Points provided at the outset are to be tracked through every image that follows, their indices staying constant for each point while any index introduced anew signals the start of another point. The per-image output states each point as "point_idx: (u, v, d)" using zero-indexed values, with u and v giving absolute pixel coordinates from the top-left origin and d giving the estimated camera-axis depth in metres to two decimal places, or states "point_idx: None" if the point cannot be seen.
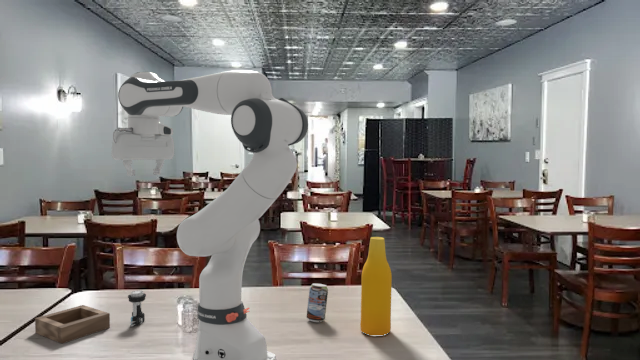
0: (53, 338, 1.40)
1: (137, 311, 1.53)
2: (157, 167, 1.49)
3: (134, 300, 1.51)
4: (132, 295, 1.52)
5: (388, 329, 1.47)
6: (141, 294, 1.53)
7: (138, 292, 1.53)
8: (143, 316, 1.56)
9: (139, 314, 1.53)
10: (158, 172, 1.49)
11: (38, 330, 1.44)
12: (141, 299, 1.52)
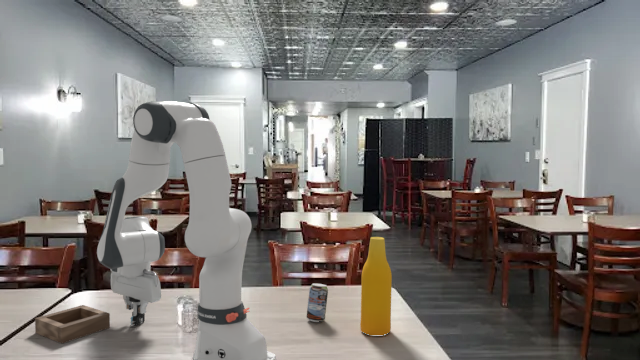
0: (53, 338, 1.40)
1: (137, 311, 1.53)
2: (128, 302, 1.55)
3: (135, 300, 1.51)
4: None
5: (388, 329, 1.47)
6: None
7: None
8: (143, 316, 1.56)
9: (139, 314, 1.53)
10: None
11: (38, 330, 1.44)
12: None
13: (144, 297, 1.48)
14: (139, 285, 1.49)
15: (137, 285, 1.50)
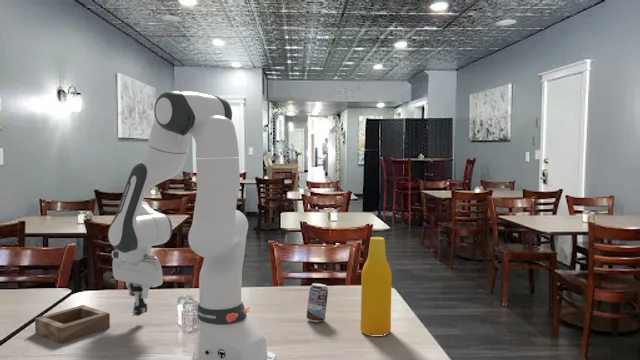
0: (53, 338, 1.40)
1: (139, 301, 1.52)
2: None
3: (136, 289, 1.51)
4: (134, 285, 1.52)
5: (388, 329, 1.47)
6: None
7: None
8: (145, 306, 1.55)
9: (141, 304, 1.52)
10: None
11: (38, 330, 1.44)
12: None
13: (145, 281, 1.48)
14: (141, 270, 1.49)
15: (139, 270, 1.50)
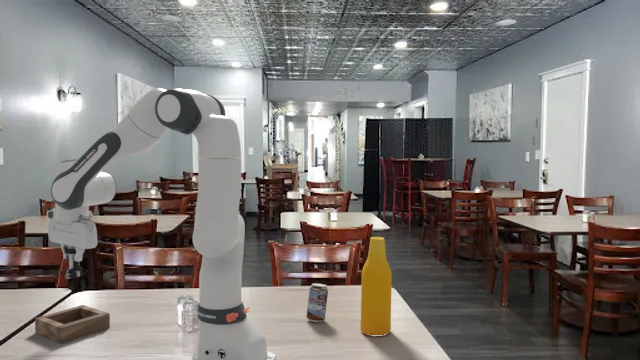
0: (53, 338, 1.40)
1: (74, 264, 1.46)
2: None
3: (70, 252, 1.44)
4: (68, 247, 1.45)
5: (388, 329, 1.47)
6: None
7: None
8: (81, 270, 1.49)
9: (76, 267, 1.46)
10: None
11: (38, 330, 1.44)
12: None
13: (79, 243, 1.41)
14: (75, 231, 1.43)
15: (73, 231, 1.43)
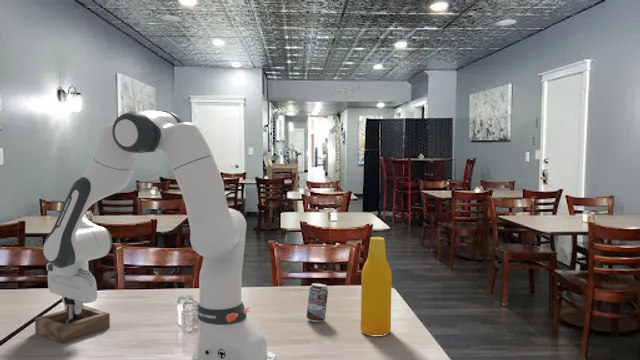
0: (53, 338, 1.40)
1: (73, 314, 1.47)
2: None
3: (70, 302, 1.45)
4: None
5: (388, 329, 1.47)
6: None
7: None
8: None
9: (76, 317, 1.47)
10: None
11: (38, 330, 1.44)
12: None
13: (79, 297, 1.42)
14: (74, 285, 1.43)
15: (73, 285, 1.44)
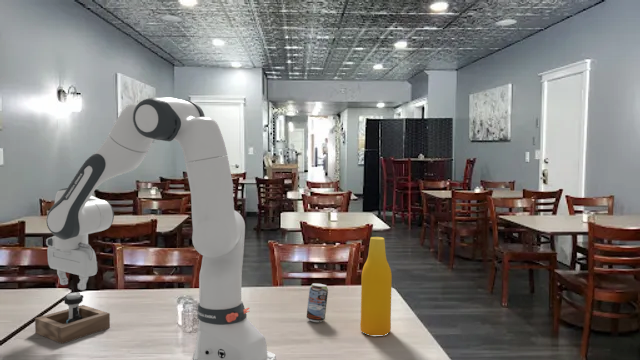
0: (53, 338, 1.40)
1: (73, 314, 1.47)
2: (63, 277, 1.49)
3: (69, 302, 1.45)
4: (68, 297, 1.46)
5: (388, 329, 1.47)
6: (78, 296, 1.47)
7: (75, 294, 1.47)
8: None
9: (75, 317, 1.47)
10: None
11: (38, 330, 1.44)
12: (77, 301, 1.46)
13: (78, 271, 1.42)
14: (74, 259, 1.43)
15: (72, 259, 1.43)
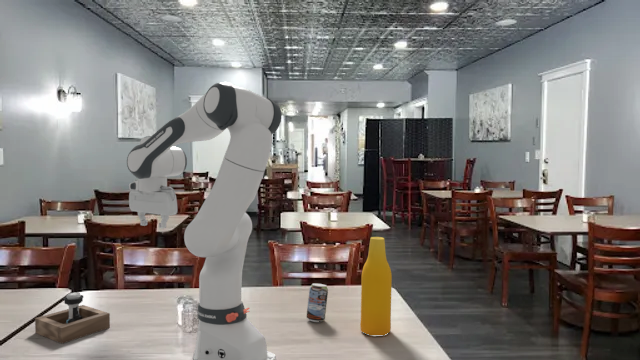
0: (53, 338, 1.40)
1: (73, 314, 1.47)
2: (143, 218, 1.65)
3: (69, 302, 1.45)
4: (68, 297, 1.46)
5: (388, 329, 1.47)
6: (78, 296, 1.47)
7: (75, 294, 1.47)
8: None
9: (75, 317, 1.47)
10: None
11: (38, 330, 1.44)
12: (77, 301, 1.46)
13: (161, 210, 1.57)
14: (157, 200, 1.58)
15: (155, 200, 1.59)
